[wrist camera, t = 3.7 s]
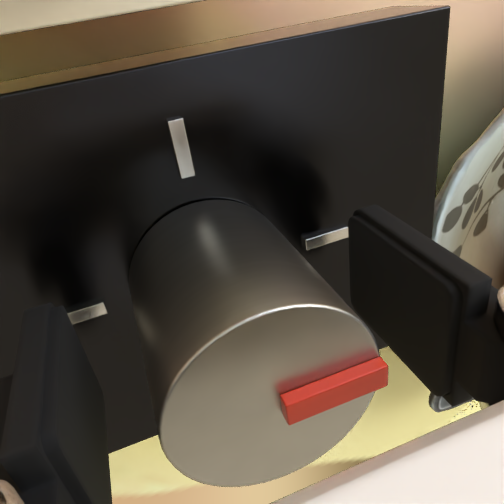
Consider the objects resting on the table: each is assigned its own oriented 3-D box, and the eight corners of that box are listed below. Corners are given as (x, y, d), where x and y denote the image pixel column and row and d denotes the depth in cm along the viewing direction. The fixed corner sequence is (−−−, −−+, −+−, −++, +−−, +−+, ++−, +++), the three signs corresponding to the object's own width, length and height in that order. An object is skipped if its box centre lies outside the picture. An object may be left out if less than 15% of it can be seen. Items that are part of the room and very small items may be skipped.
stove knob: (152, 357, 13) (192, 533, 9) (106, 225, 11) (128, 374, 6) (289, 309, 14) (388, 446, 10) (273, 179, 12) (394, 281, 7)
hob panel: (18, 428, 16) (9, 497, 13) (-182, 116, 10) (-254, 146, 8) (386, 297, 19) (427, 335, 17) (392, 6, 13) (456, 5, 11)
